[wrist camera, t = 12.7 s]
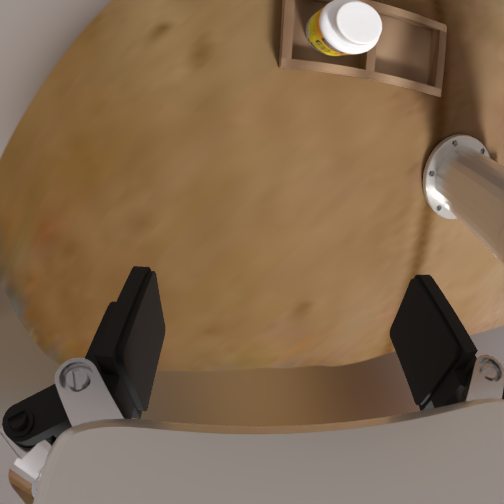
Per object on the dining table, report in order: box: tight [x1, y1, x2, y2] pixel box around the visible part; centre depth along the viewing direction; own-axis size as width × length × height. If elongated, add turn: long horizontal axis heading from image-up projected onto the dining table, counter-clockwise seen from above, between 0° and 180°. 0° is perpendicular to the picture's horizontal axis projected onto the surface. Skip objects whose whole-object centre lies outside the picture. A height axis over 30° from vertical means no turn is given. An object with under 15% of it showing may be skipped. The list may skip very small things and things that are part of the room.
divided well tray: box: [279, 0, 447, 97], centre depth 27 cm, size 19×10×3 cm, turn 87°
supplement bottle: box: [306, 0, 382, 56], centre depth 23 cm, size 6×6×10 cm
